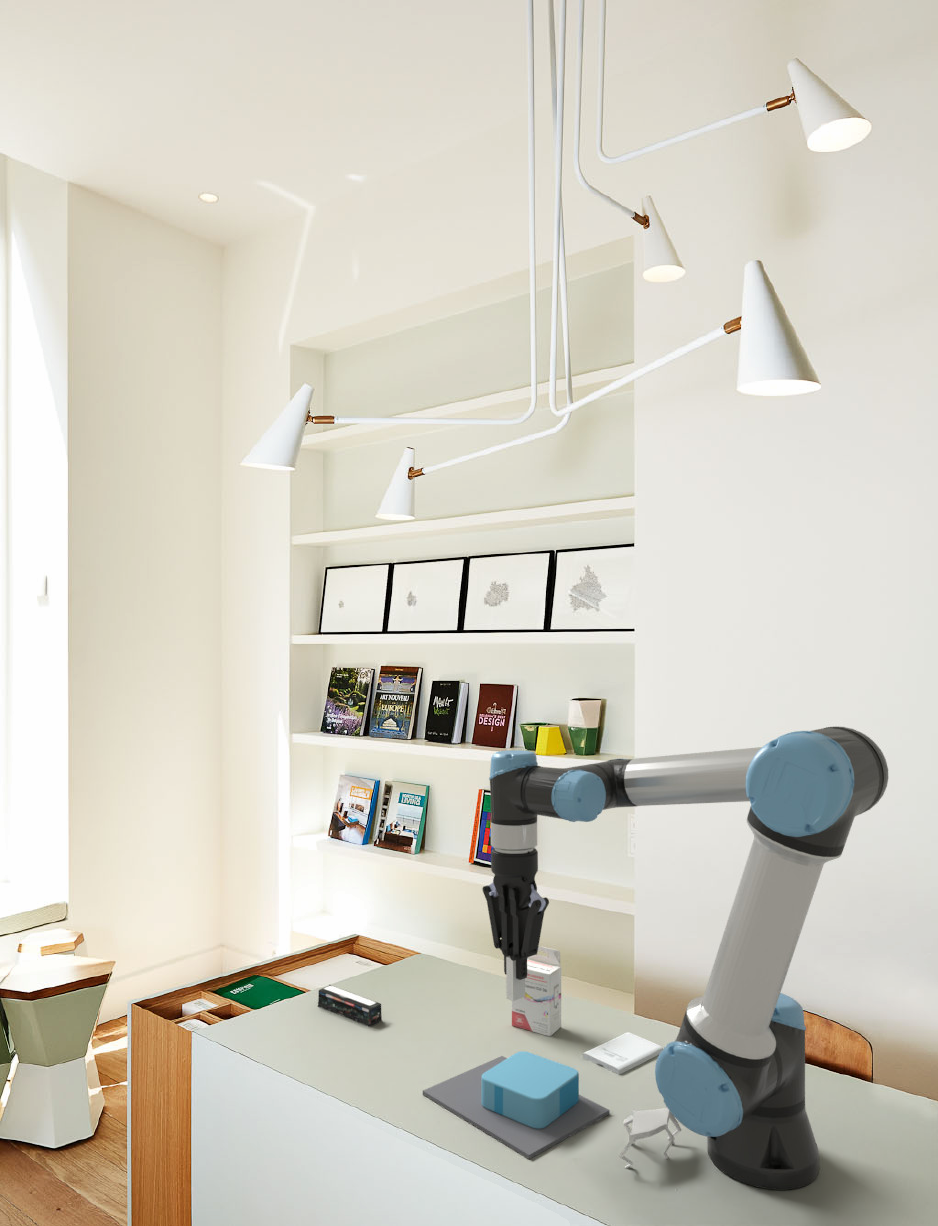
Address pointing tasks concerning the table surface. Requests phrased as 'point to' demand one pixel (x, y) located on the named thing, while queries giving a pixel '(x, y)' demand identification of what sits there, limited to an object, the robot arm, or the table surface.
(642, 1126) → the origami figure
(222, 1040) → the table surface
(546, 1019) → the ink cartridge box
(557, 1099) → the data package
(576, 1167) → the table surface
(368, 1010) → the bus
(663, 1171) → the table surface
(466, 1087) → the mat
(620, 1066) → the external hard drive
